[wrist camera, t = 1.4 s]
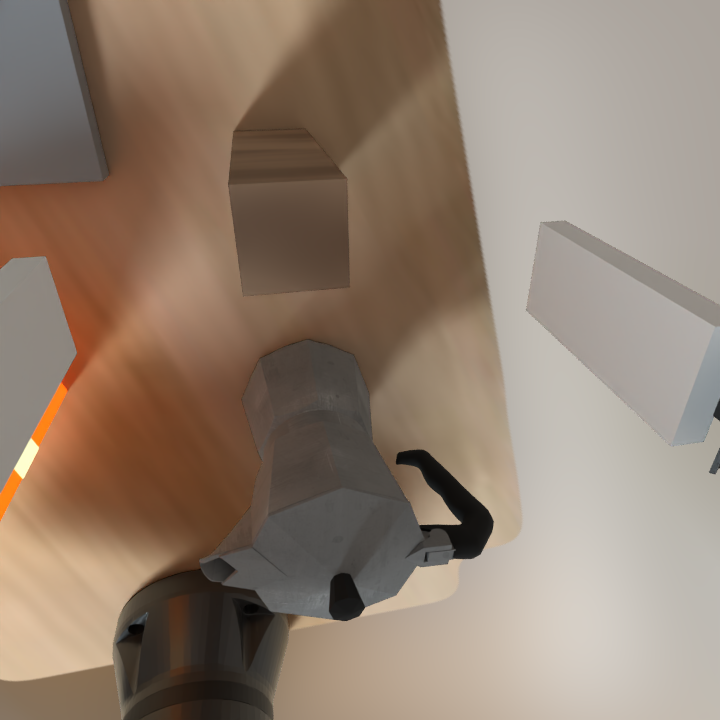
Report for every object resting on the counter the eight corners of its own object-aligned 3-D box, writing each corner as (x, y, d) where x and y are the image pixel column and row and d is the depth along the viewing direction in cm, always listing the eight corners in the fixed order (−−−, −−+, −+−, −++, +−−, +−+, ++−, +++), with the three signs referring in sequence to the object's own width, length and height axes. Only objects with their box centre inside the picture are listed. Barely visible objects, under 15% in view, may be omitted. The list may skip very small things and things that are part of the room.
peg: (309, 200, 32) (349, 287, 20) (242, 204, 32) (243, 296, 20) (305, 128, 30) (346, 178, 18) (233, 131, 30) (228, 184, 18)
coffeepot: (217, 450, 40) (202, 696, 25) (208, 339, 35) (183, 557, 20) (413, 437, 43) (508, 649, 28) (429, 333, 38) (553, 519, 23)
